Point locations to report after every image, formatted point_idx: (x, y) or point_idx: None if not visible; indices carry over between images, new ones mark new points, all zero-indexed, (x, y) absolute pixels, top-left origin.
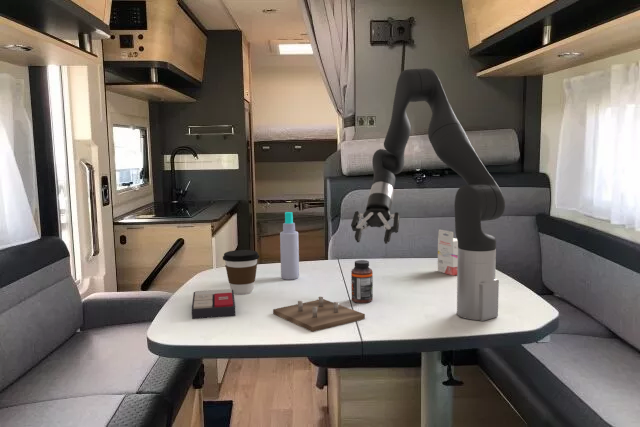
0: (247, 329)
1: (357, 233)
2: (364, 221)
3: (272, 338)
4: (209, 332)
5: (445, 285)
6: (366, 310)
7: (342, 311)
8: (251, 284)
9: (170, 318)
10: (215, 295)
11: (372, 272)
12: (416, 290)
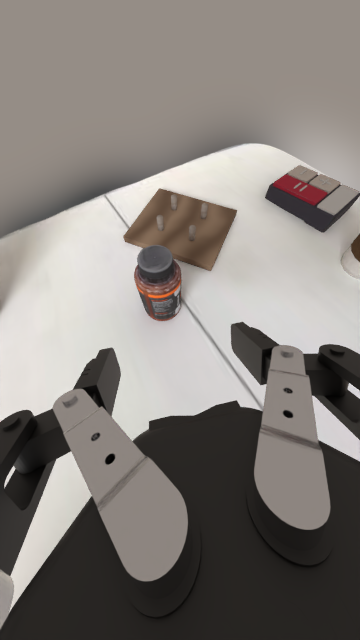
0: (220, 179)
1: (253, 332)
2: (275, 376)
3: (183, 173)
4: (243, 164)
5: None
6: None
7: (154, 233)
8: (351, 256)
9: None
10: (319, 189)
11: (136, 284)
12: None
